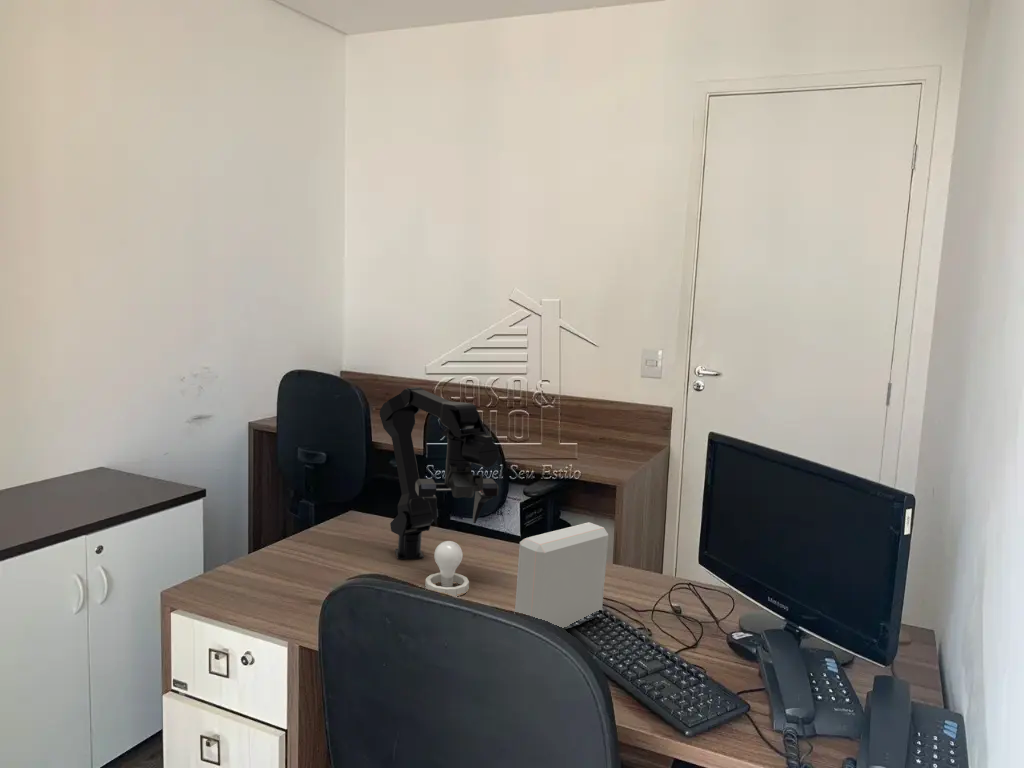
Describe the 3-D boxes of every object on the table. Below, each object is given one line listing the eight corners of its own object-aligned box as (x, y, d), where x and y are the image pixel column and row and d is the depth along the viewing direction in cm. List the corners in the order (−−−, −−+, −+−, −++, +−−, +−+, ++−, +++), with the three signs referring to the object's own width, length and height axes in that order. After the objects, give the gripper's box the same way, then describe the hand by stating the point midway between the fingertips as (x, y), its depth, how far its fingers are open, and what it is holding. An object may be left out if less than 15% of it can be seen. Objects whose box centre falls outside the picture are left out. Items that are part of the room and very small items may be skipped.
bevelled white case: (576, 606, 165) (583, 518, 163) (604, 619, 160) (612, 528, 157) (505, 631, 151) (512, 535, 148) (534, 647, 145) (541, 547, 143)
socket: (422, 581, 173) (423, 573, 173) (463, 579, 176) (463, 571, 175) (429, 598, 164) (429, 590, 164) (471, 596, 167) (472, 588, 166)
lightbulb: (449, 596, 166) (452, 548, 164) (426, 589, 169) (429, 542, 168) (466, 587, 171) (468, 541, 170) (443, 581, 174) (446, 535, 173)
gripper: (424, 466, 163) (420, 535, 165) (507, 466, 168) (502, 533, 170) (416, 454, 174) (413, 520, 176) (494, 454, 179) (490, 518, 181)
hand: (455, 523), depth 176 cm, fingers open, 9 cm apart
